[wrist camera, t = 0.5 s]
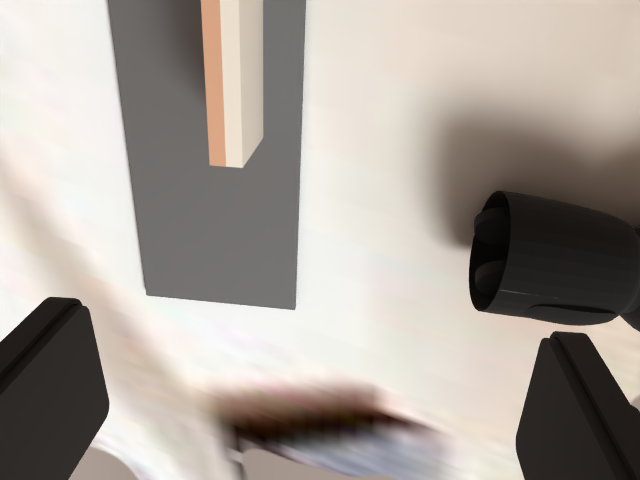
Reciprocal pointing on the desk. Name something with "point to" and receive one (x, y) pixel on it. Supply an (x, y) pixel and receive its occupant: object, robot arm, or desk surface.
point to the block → (233, 78)
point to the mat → (193, 158)
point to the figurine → (554, 262)
